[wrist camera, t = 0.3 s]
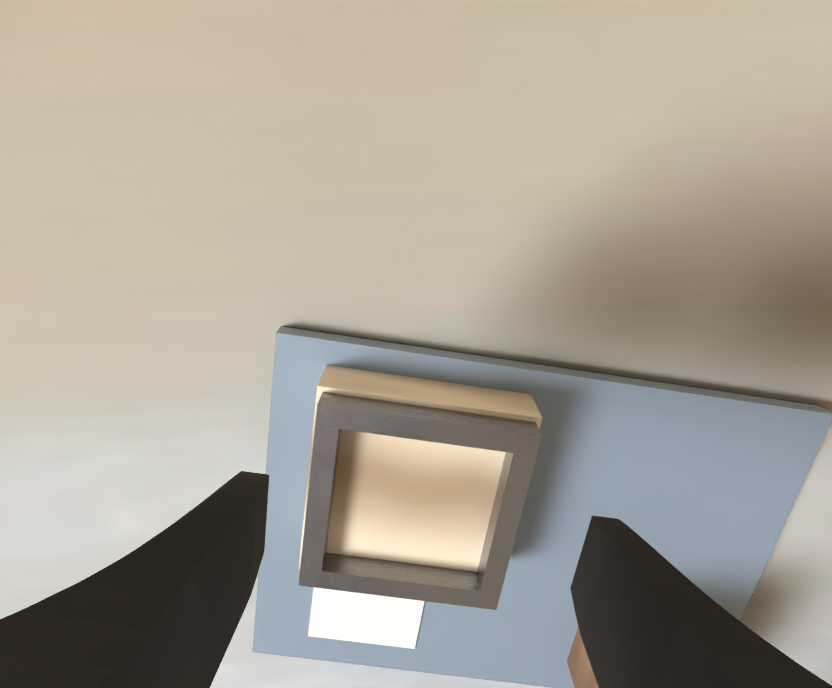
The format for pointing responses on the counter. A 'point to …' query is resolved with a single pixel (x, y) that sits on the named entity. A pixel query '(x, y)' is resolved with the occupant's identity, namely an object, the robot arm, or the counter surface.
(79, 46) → the counter surface
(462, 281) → the counter surface
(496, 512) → the board
